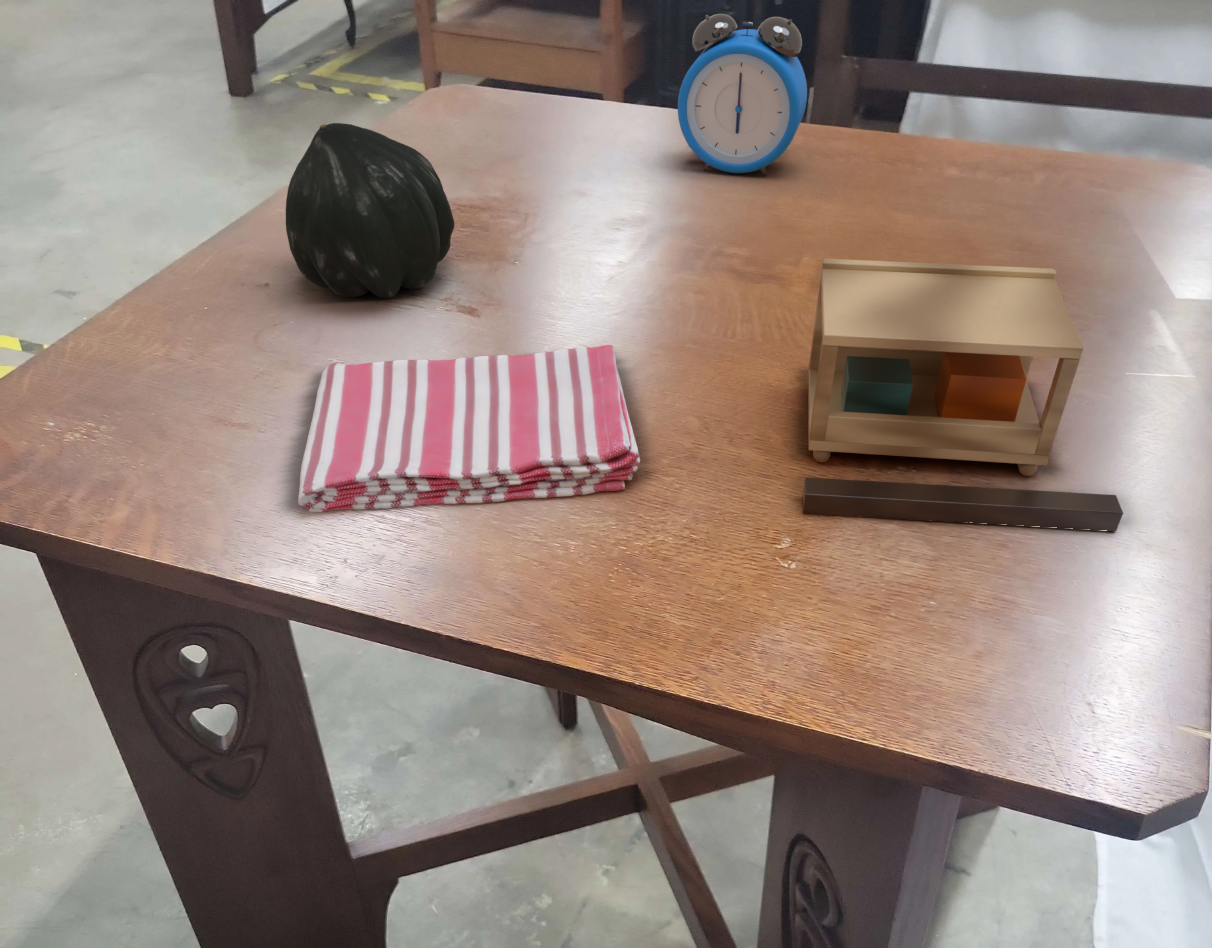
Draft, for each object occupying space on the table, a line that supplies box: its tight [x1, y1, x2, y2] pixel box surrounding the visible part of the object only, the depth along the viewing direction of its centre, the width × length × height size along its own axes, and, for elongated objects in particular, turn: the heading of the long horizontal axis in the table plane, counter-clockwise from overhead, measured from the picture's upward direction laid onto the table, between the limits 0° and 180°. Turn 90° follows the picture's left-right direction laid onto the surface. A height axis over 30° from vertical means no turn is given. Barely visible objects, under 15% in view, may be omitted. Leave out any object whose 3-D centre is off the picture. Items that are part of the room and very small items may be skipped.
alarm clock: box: [677, 13, 808, 176], centre depth 113 cm, size 13×6×15 cm, turn 74°
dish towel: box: [297, 344, 641, 513], centre depth 77 cm, size 17×23×4 cm
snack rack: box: [807, 258, 1084, 477], centre depth 74 cm, size 16×11×10 cm
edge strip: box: [801, 476, 1124, 532], centre depth 69 cm, size 20×2×2 cm, turn 83°
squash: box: [285, 122, 455, 299], centre depth 93 cm, size 14×15×15 cm
